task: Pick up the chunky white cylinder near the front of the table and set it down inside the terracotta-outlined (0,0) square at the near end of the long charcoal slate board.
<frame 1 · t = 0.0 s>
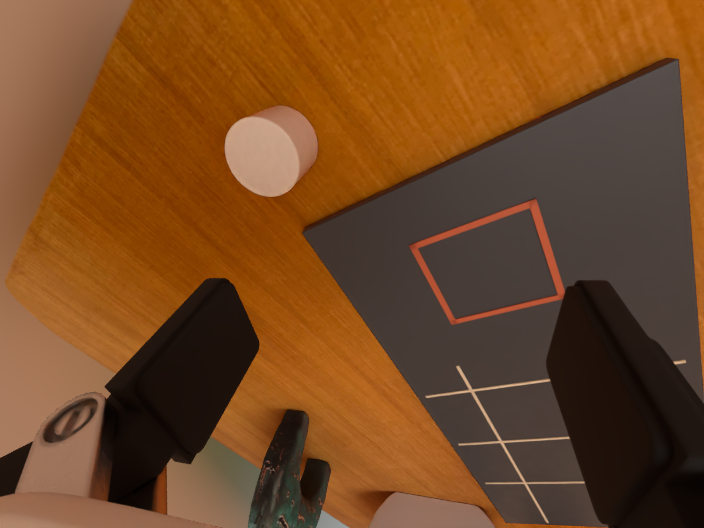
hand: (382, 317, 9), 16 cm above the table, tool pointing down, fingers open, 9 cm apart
board: (545, 402, 33), on the table
ceramic cat: (309, 441, 50), on the table
white cylinder: (285, 143, 23), on the table
alarm clock: (435, 506, 54), on the table
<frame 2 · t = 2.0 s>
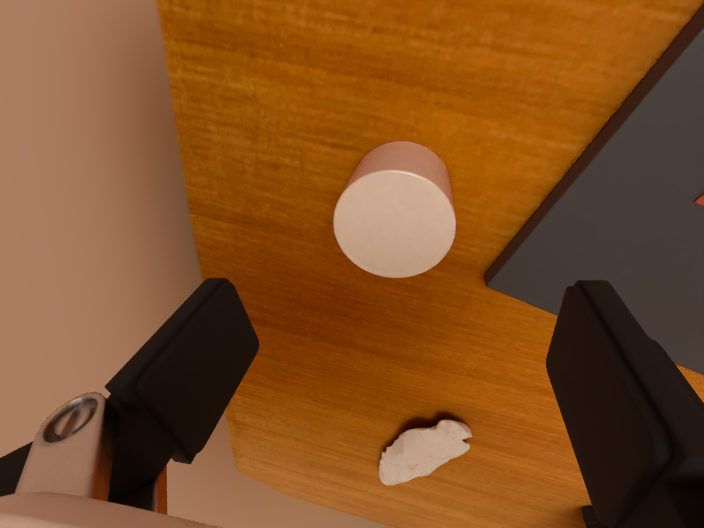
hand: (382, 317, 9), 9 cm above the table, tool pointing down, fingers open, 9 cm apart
white cylinder: (399, 191, 16), on the table
stone tool: (418, 444, 31), on the table
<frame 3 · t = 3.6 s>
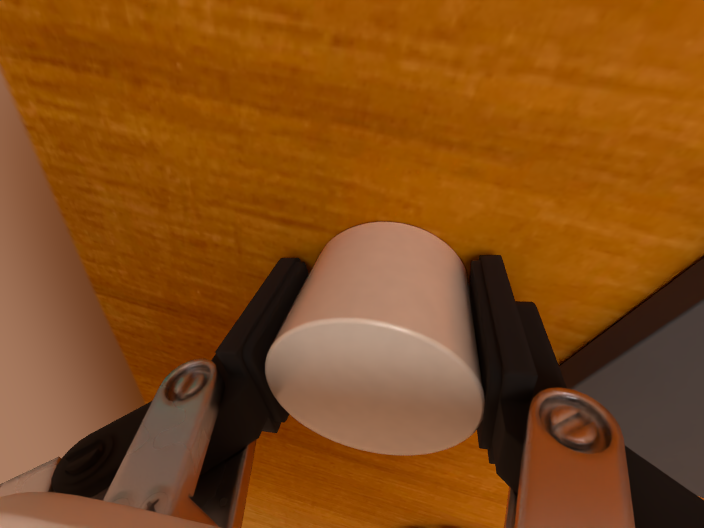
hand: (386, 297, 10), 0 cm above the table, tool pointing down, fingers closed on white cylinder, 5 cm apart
white cylinder: (388, 289, 10), on the table, touching gripper
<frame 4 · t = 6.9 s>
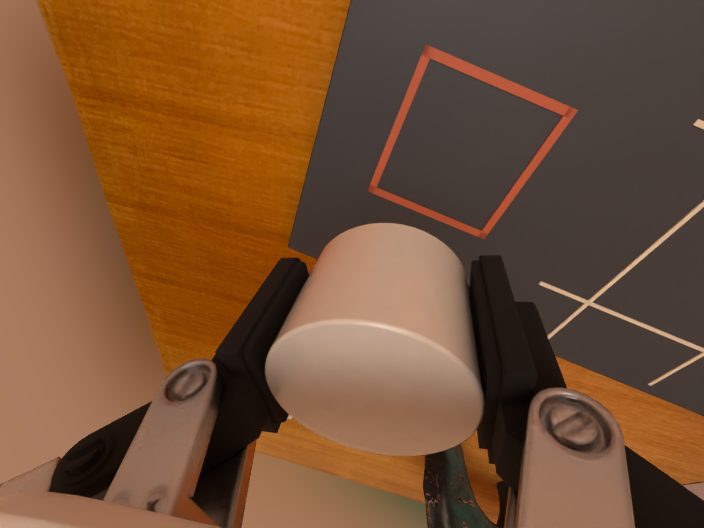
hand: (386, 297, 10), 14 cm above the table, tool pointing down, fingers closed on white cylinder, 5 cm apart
ceramic cat: (481, 461, 42), on the table
white cylinder: (387, 289, 10), point 14 cm above the table, touching gripper
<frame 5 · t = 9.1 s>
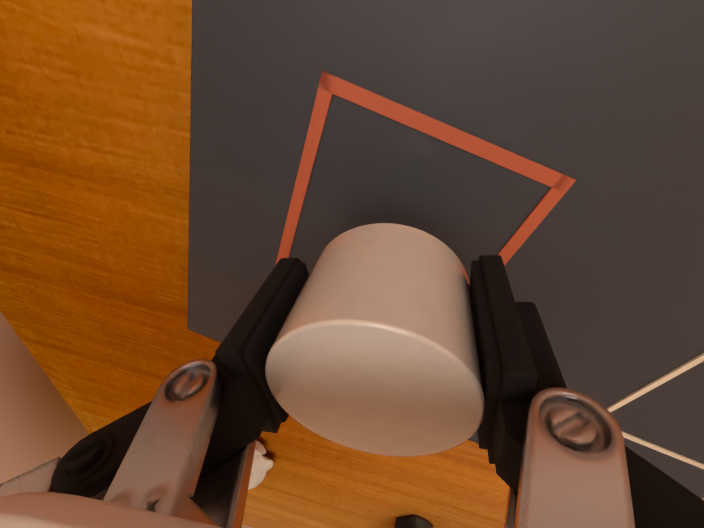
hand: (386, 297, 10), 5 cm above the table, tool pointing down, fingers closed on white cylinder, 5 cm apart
white cylinder: (388, 290, 10), point 4 cm above the table, touching gripper
stone tool: (244, 458, 33), on the table
when the fingers open (1 cm above the table, at t = 10.5 s): white cylinder stays where it is, resting on board.
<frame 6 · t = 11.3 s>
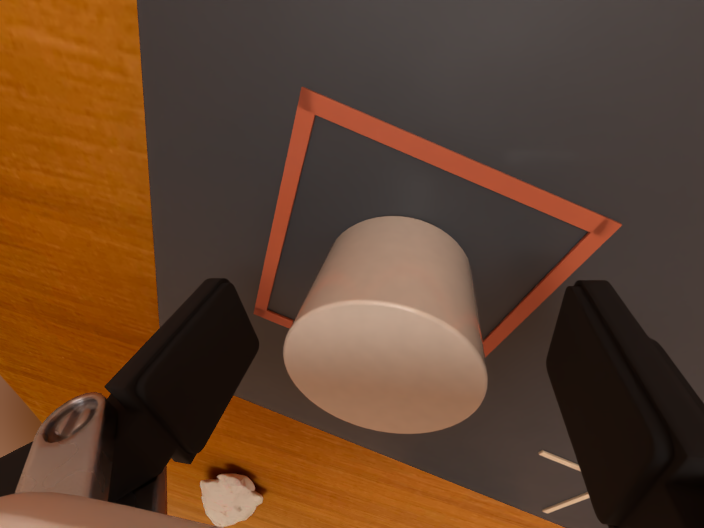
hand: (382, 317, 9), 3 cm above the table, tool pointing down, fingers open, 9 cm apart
white cylinder: (395, 280, 11), point 1 cm above the table, touching board
stone tool: (234, 490, 31), on the table
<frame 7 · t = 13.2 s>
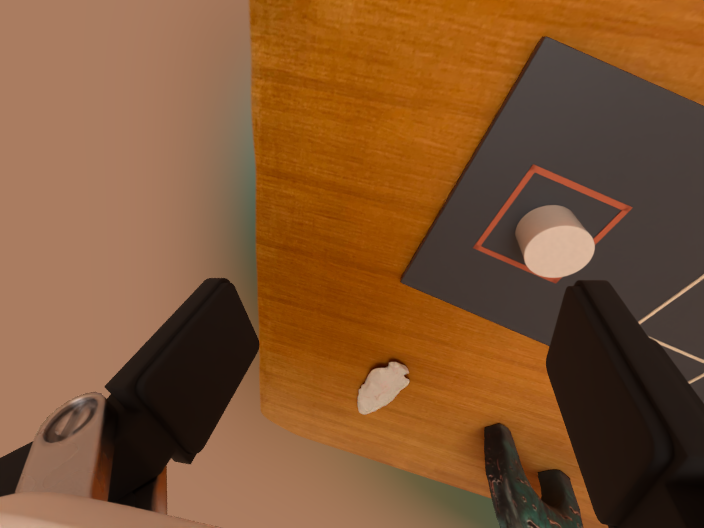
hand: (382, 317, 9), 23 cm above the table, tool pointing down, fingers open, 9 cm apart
ceramic cat: (526, 453, 51), on the table
white cylinder: (545, 230, 29), point 1 cm above the table, touching board
stone tool: (381, 384, 49), on the table
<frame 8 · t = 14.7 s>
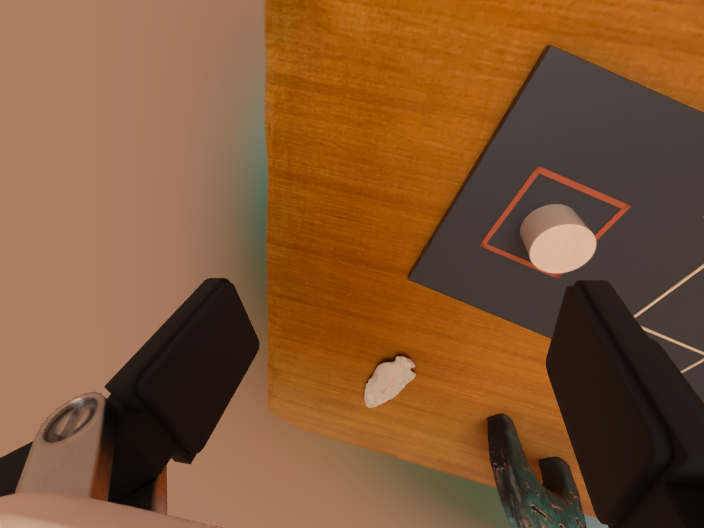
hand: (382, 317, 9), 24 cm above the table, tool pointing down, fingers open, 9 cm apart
ceramic cat: (527, 442, 53), on the table
white cylinder: (548, 228, 30), point 1 cm above the table, touching board
stone tool: (387, 378, 51), on the table
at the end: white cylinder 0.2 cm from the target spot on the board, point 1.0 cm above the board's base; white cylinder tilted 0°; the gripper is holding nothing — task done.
